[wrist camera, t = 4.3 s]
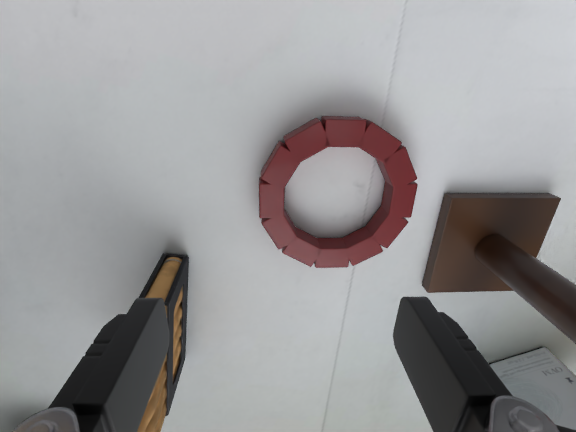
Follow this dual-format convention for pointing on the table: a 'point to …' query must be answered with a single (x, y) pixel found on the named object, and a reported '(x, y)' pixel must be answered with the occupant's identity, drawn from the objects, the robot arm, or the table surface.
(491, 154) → the table surface
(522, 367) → the cosmetics box
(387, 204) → the ring
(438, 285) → the brown peg stand
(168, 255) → the ammunition clip
